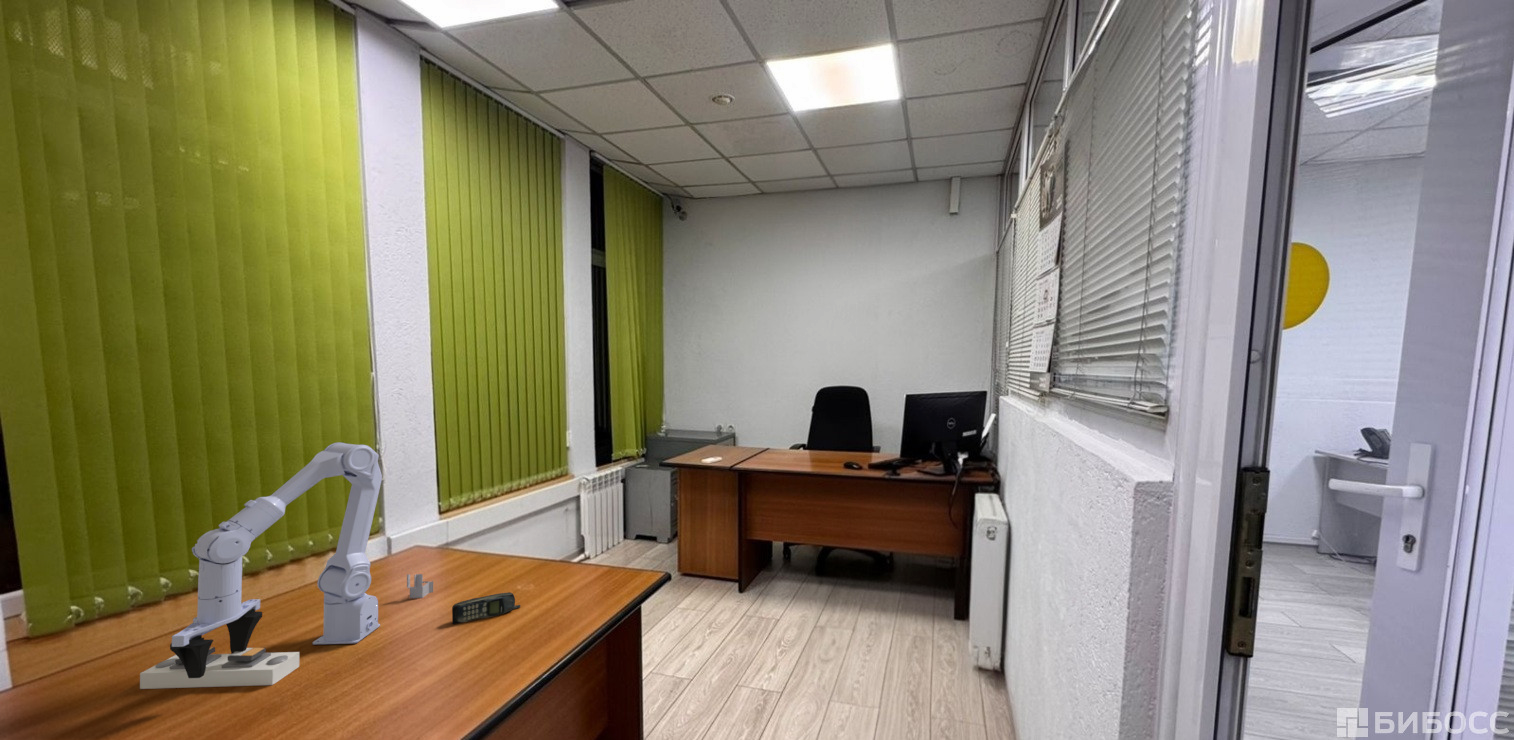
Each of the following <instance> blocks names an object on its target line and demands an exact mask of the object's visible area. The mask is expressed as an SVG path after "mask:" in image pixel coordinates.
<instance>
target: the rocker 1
mask: <svg viewBox="0 0 1514 740" xmlns="http://www.w3.org/2000/svg"><path fill="white" fill-rule="evenodd" d="M215 652H216V647H215V646H210V649H209V652H208V655H210V654H214V653H215ZM208 655H207V656H208ZM175 662H176V664H182V661H181V660H180V659H179V658H177V659H176V660H175Z"/></svg>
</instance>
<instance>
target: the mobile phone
mask: <svg viewBox="0 0 1514 740" xmlns="http://www.w3.org/2000/svg"><path fill="white" fill-rule="evenodd" d="M519 608H521V604H518V605H516V598H515V594H514V593H512V592H510V591H509V592H500V593H495V594H490V595H486V596H485V595H484V596H481V597H475V598H471V599H466V600H462V601H459V602H456V603H455V604H453V605H452V608H451V611H452V612H451V614H452V619H451V621H452V625H458V624H463V623H468V622H471V621H476V620H481V619H486V618H494V617H498V616H501V615H503V614H506V613H509V612H511V611H512V610H515V609H519Z"/></svg>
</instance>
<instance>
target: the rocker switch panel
mask: <svg viewBox="0 0 1514 740" xmlns="http://www.w3.org/2000/svg"><path fill="white" fill-rule="evenodd" d="M230 654H231V653H212V654H210V655H208V656H207V660H206V670H205V673H204V676H202V677H201V678H188V675H187V672H186V670H185V667H184V665H183V663H182V664H176V662H175V660H176V659H177V658H179V657H178V656H177V655H176V654H174V655H173V656H171V657H169V658H167V659H165V660H163V661H160V662H159V663H156V664H155V665H153V666H151V667H150V668H147V669H146V670H143V671H142V672H140V673H139V689H140V690H146V689H147V690H149V689H152V690H153V689H154V690H155V689H176V688H177V689H179V688H180V689H182V688H184V689H186V688H213V687H215V688H216V687H217V688H219V687H246V686H247V687H249V686H251V687H253V686H273V685H274V684H276V683H277V682H279V681H280V680H283V678H285V677H287V676H288V675H289V674H291V673H293V672H294V671H295V670H296V669H298V668H300V651H287V652H286V651H285V652H283V651H282V652H281V651H280V652H265V653H264V654H262V655H260V656H259V657H257V658H256V659H254V660H252V661H228V656H229V655H230Z"/></svg>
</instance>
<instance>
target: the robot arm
mask: <svg viewBox="0 0 1514 740" xmlns="http://www.w3.org/2000/svg"><path fill="white" fill-rule="evenodd" d="M379 457H380V455H379V453H377V452H376V451H375V450H374V449H373V448H372V447H371V446H369V445H366V444H355V443H354V444H352V443H347V442H346V443H345V442H339V441H338V442H334V443H331V444H329V445H328V446H327V447H326V448H324V450H322V451H319V452H318V453H317V454H315V455H314V457H313V458H312V459H311V461H309V462H308V464H306V465H305V466H304V467H303V468H301V469H300V470H299V471H298V472H297V473H296V474H295V475H293V476H291V478H290V479H289V480H287V481H286V482H285V483H284V484H283V485H282V486H280V487H279V488H278V489H277V490H275V491H274V492H273V493H272V494H271V495H268V496H260V497H257V498H256V499H254V500H253V499H250V500H248V501H246V502H245V503H244V504H243V506H245V507H244V508H242V509H241V510H240V511H239V512H238V513H236V514H235V515H233V516H232V517H231V518H229V519H228V520H226V521H222V522H221V523H219V524H218V527H219V528H215V529H213V530H209V531H207V532H204V534H202V535H201V536H200V537H199V538H198V539H197V540H196V542H197V543H195V544H194V546H193V547H191V552H192V554H193V556H195V558H197V559H198V560H199V562H198V563H199V564H198V578H197V579H198V580H197V581H198V582H197V583H198V584H197V612H196V614H197V616H196V617H193V618H192V623H191V624H189V625H188V626H187V627H185V628H184V629H182V630H181V631H179V632H177V633H175V634H174V635H172V636H171V643H170V645H169V651H172V653H173V654H174V655H177V656H178V657H179V659H180V660H181V661H182V663H183V665H184V667H185V670H186V672H187V675H188V678H201V677H202V676H204V673H205V670H206V660H207V655H208V652H209V649H210V648H211V647H212V644H213V642H214V639H213V638H212V639H205V637H202V636H203V635H206V634H208V633H210V632H213V631H214V630H216V629H218V628H220V627H222V626H225V625H226V628H227V630H228V635H229V647H230V648H229V649H230V650H229V651H230V652H231V653H230V654H232V653H234V652H243V651H245V650H246V648H248V645H249V642H250V639H251V637H252V634H253V632H254V630H255V628H256V626H257V625H258V623H259V622H260V620H261V619H262V617H263V612H262V611H258V610H260V609H261V599H259V598H258V599H257V598H256V599H255V598H252V599H251V598H250V599H248V600H246V601H243V602H242V590H243V588H242V587H243V586H242V584H243V580H242V579H243V556H246V554H247V553H248V552H249V549H250V548H251V543H252V542H253V541H254V540H255V539H256V538H258V537H259V536H260V535H261V534H263V533H264V532H265V531H266V530H268V529H269V528H271V526H273V525H274V524H275V523H277V521H279V520H280V519H281V518H282V517H283V516H284V515H285V513H286V507H287V506H288V505H289V504H290V503H292V502H293V501H295V500H296V499H297V498H299V497H300V496H301V495H303V494H304V493H306V492H307V491H308V490H310V489H311V488H312V487H314V486H315V485H317V484H319V482H320V481H322V480H323V479H325V478H332V477H338V476H342V477H344V478H345V479H346V480H347V481H349V483H350V484H351V487H350V491H349V495H348V501H347V504H346V509H345V513H344V517H343V520H342V523H341V524H342V525H341V530H340V532H339V537H338V542H337V547H336V551H335V553H334V554H333V555H331V557H329V559H327V561H326V564H325V567H324V569H323V570H322V572H320V575H319V576H318V578H317V581H316V582H317V588H318V589H319V591H321V592H323V635H322V636H320V637H318V638H317V639H316V640H314V641H312V645H340V644H341V645H342V644H343V645H345V644H347V645H348V644H351V645H352V644H357V643H359V642H360V641H362V640H363V639H364V638H365V637H367V636H368V635H370V634H371V633H372V632H374V631H375V630H377V629H378V628H379V627H381V624H380V623H379V600H378V598H377V597H376V596H375V595H371V594H367V593H366V592H367V591H368V589H369V588H370V586H371V583H372V575H371V572H370V571H371V570H370V568H371V561H370V560H369V558H368V557H367V554H366V551H367V546H368V543H369V542H368V541H369V538H370V533H371V528H372V525H373V519H374V514H375V511H376V506H377V502H378V498H379V494H380V490H381V489H380V488H381V485H382V480H383V476H382V472H381V468H380V464H379V462H378V460H379Z"/></svg>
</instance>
